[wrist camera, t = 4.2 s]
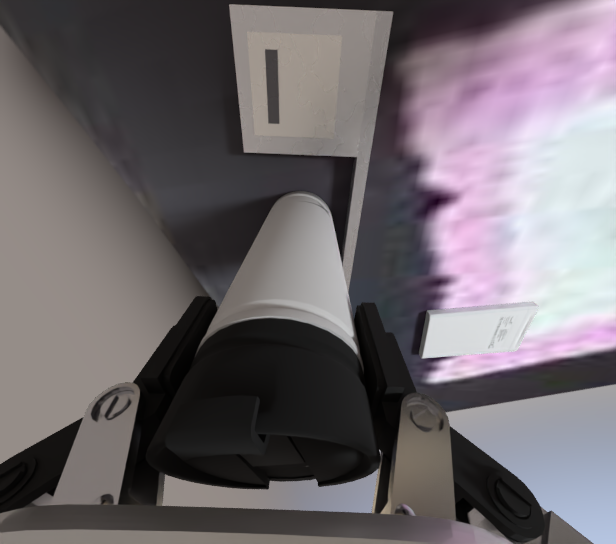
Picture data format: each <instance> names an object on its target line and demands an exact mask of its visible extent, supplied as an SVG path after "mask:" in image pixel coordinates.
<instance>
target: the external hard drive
mask: <svg viewBox="0 0 616 544" xmlns="http://www.w3.org/2000/svg"><path fill="white" fill-rule="evenodd" d="M538 307H539V306H538V305H537V304H536V303H535V302H522V303H509V304H498V305H486V306H474V307H462V308H451V309H439V310H427V312H426V318H425V323H424V328H423V334H422V339H421V344H420V350H419V355H420V357H421V358H432V357H446V356H459V355H473V354H486V353H499V352H513V351H517V350H518V348H519V346H520V344H521V342H522V340H523V338H524V336H525V334H526V332H527V330H528V329H529V327H530V325H531V323H532V321H533V319H534V317H535V315H536V313H537V311H538Z"/></svg>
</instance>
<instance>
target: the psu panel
mask: <svg viewBox="0 0 616 544" xmlns="http://www.w3.org/2000/svg"><path fill="white" fill-rule="evenodd" d="M229 8H230V18H231V28H232V38H233V48H234V58H235V68H236V78H237V88H238V98H239V108H240V118H241V128H242V138H243V147H244V152H247V153H271V154H295V155H319V156H343V157H354V162H353V170H352V177H351V185H350V193H349V201H348V209H347V216H346V224H345V232H344V240H343V248H342V256H341V262H342V267H343V271H344V276H345V281H346V286H347V290H349V284H350V278H351V271H352V265H353V259H354V253H355V247H356V240H357V234H358V228H359V222H360V216H361V209H362V203H363V197H364V191H365V184H366V178H367V172H368V166H369V160H370V153H371V147H372V141H373V135H374V129H375V122H376V116H377V110H378V104H379V97H380V91H381V85H382V79H383V73H384V66H385V60H386V54H387V48H388V42H389V35H390V29H391V23H392V17H393V12H392V11H369V10H347V9H324V8H302V7H279V6H257V5H234V4H229Z"/></svg>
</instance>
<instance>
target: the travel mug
mask: <svg viewBox="0 0 616 544" xmlns="http://www.w3.org/2000/svg"><path fill="white" fill-rule="evenodd" d="M146 460H147V462H148V464H149V465H150V466H151V467H153V468H154V469H156V470H157V471H159V472H162V473H164V474H166V475H168V476H172V477H175V478H178V479H182V480H186V481H190V482H194V483H200V484H206V485H212V486H220V487H228V488H240V489H269V481H302V480H312V479H316V480H317V482H318V486H319V487H322V486H329V485H338V484H343V483H347V482H352V481H355V480H358V479H361V478H364V477H366V476H368V475H370V474H372V473H373V472H374V471H376V470H377V469H378V468H379V465H380V462H381V457H380V452H379V447H378V442H377V437H376V433H375V428H374V423H373V418H372V413H371V408H370V403H369V399H368V395H367V392H366V389H365V379H364V366H363V361H362V358H361V354H360V347H359V342H358V338H357V333H356V328H355V323H354V319H353V314H352V309H351V305H350V300H349V295H348V290H347V286H346V281H345V276H344V271H343V267H342V262H341V257H340V252H339V248H338V243H337V238H336V233H335V229H334V224H333V219H332V215H331V212H330V210H329V208H328V206H327V204H326V203H325V202H324V201H323V200H322V199H321V198H320V197H318V196H316V195H315V194H313V193H309V192H306V191H294V192H290V193H287V194H285V195H284V196H282V197H280V198H279V199H278V200H277V201H276V202H275V204H274V205H273V207H272V208H271V210H270V212H269V214H268V216H267V218H266V220H265V222H264V224H263V226H262V227H261V229H260V231H259V233H258V235H257V237H256V239H255V241H254V243H253V244H252V246H251V248H250V250H249V252H248V254H247V256H246V258H245V260H244V261H243V263H242V265H241V267H240V269H239V271H238V273H237V275H236V277H235V279H234V280H233V282H232V284H231V286H230V288H229V290H228V292H227V294H226V296H225V297H224V299H223V301H222V303H221V305H220V307H219V309H218V311H217V313H216V315H215V316H214V318H213V320H212V322H211V324H210V326H209V328H208V330H207V333H206V335H205V336H204V338H203V339H202V341H201V343H200V345H199V347H198V349H197V352H196V355H195V358H194V360H193V362H192V365H191V367H190V370H189V372H188V373H187V375H186V376H185V377H184V379H183V381H182V383H181V385H180V387H179V389H178V391H177V393H176V395H175V397H174V399H173V401H172V403H171V404H170V406H169V408H168V410H167V412H166V414H165V416H164V418H163V420H162V422H161V424H160V426H159V428H158V430H157V432H156V433H155V435H154V437H153V439H152V441H151V443H150V445H149V447H148V449H147V453H146Z"/></svg>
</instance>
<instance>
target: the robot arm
mask: <svg viewBox="0 0 616 544" xmlns="http://www.w3.org/2000/svg"><path fill="white" fill-rule="evenodd" d="M216 313H217V307H216V302H215V300H212V299H211V297H202V296H197V297H195V299H194V300H193V302H192V303H191V304H190V306H189V307H188V309H187V310H186V312H185V313H184V314H183V316H182V317H181V319H180V320H179V321H178V323H177V324H176V325H175V326H173V327H172V328H171V330H170V331H169V332H168V334H167V335H166V337H165V338H164V339H163V341H162V342H161V344H160V345H159V347H158V348H157V349H156V351H155V352H154V353H153V355H152V356H151V358H150V359H149V360H148V362H147V363H146V365H145V366H144V368H143V369H142V370H141V372H140V373H139V375H138V376H137V378H136V379H135V380H134V382H133V383H130V382H125V383H120V384H117V385H114V386H112V387H110V388H108V389H106V390H105V391H103V392H102V393H101V394H99V395H98V396H97V397H96V398H95V399H94V400H93V401H92V402H91V403H90V405H89V406H88V408H87V410H86V412H85V415H84V417H83V418H81V419H80V420H77V421H76V422H74V423H72V424H70V425H69V426H67V427H65V428H63V429H61V430H60V431H58V432H56V433H54V434H52V435H51V436H49V437H47V438H45V439H44V440H42V441H40V442H38V443H36V444H34V445H33V446H31V447H29V448H27V449H25V450H24V451H22V452H20V453H18V454H16V455H15V456H13V457H11V458H10V459H8V460H6V461H5V462H3V463H2V464H0V544H593V543H592V542H591V541H589V540H588V539H587V538H586V537H584V536H583V535H582V534H581V533H579V532H578V531H576V530H575V529H574V528H573V527H572V526H570V525H569V524H568V523H566V522H565V521H564V520H563V519H561V518H560V517H559V516H558V515H556V514H555V513H554V512H552V511H550V512H547V511H545V510H544V509H543V508H542V507H540V505H539V503H538V502H537V500H536V498H535V497H534V495H533V494H532V492H531V491H530V490H529V489H528V488H527V486H526V485H525V484H524V483H523V482H522V481H521V480H519V479H518V478H517V477H516V476H515V475H514V474H512V473H511V472H510V471H508V470H507V469H506V468H504V467H503V466H502V465H500V464H499V463H498V462H497V461H495V460H494V459H492V458H491V457H490V456H489V455H487V454H486V453H485V452H483V451H482V450H481V449H479V448H478V447H477V446H475V445H474V444H473V443H471V442H470V441H469V440H467V439H466V438H465V437H463V436H462V435H461V434H460V433H458V432H457V431H456V430H454V429H453V428H452V427H450V425H449V420H448V417H447V415H446V413H445V411H444V410H443V408H442V407H441V406H440V405H439V404H438V403H437V402H436V401H435V400H434V399H432V398H431V397H429V396H427V395H425V394H421V393H417V392H416V389H415V387H414V384H413V382H412V379H411V377H410V374H409V371H408V369H407V366H406V364H405V361H404V359H403V356H402V354H401V351H400V349H399V346H398V344H397V341H396V339H395V336H394V334H393V333H386V332H385V330H384V327H383V324H382V321H381V319H380V316H379V313H378V310H377V307H376V305H375V303H361V306H357V308H356V313H355V318H354V323H355V328H356V333H357V338H358V342H359V347H360V354H361V358H362V361H363V366H364V379H365V389H366V392H367V395H368V399H369V403H370V408H371V413H372V418H373V423H374V428H375V433H376V437H377V442H378V447H379V450H381V454H380V457H381V462H380V465H379V468H378V474H377V481H376V487H375V494H374V500H373V507H372V513H351V512H326V511H325V512H324V511H300V510H272V509H243V508H211V507H180V506H179V507H178V506H162V503H163V491H164V481H165V474H164V473H162V472H159V471H157V470H156V469H154V468H153V467H151V466H150V465H149V464H148V462H147V460H146V453H147V449H148V447H149V445H150V443H151V441H152V439H153V437H154V435H155V433H156V432H157V430H158V428H159V426H160V424H161V422H162V420H163V418H164V416H165V414H166V412H167V410H168V408H169V406H170V404H171V403H172V401H173V399H174V397H175V395H176V393H177V391H178V389H179V387H180V385H181V383H182V381H183V379H184V377H185V376H186V375H187V373H188V372H189V370H190V367H191V365H192V362H193V360H194V358H195V355H196V352H197V349H198V347H199V345H200V343H201V341H202V339H203V338H204V336H205V335H206V333H207V330H208V328H209V326H210V324H211V322H212V320H213V318H214V316H215V315H216Z"/></svg>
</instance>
